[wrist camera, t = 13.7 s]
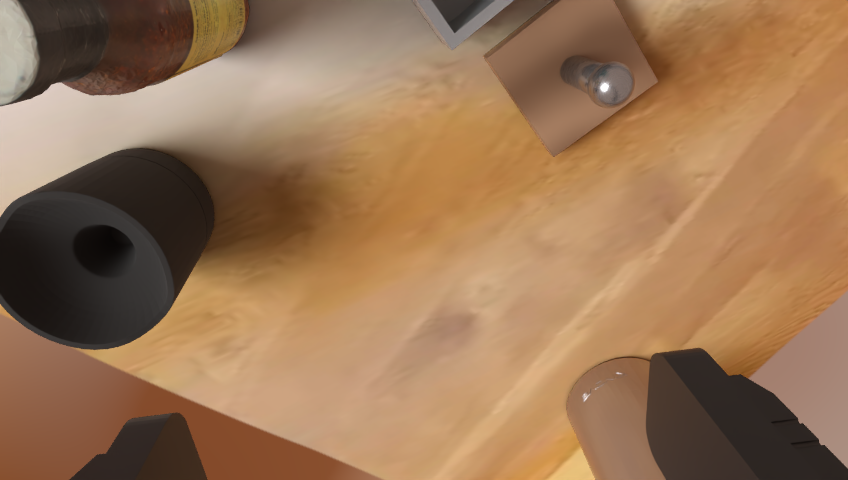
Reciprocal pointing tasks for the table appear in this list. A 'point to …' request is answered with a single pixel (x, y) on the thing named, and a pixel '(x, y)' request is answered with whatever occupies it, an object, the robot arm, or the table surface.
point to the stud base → (543, 57)
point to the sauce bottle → (110, 42)
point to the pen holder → (103, 248)
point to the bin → (458, 17)
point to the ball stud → (599, 80)
